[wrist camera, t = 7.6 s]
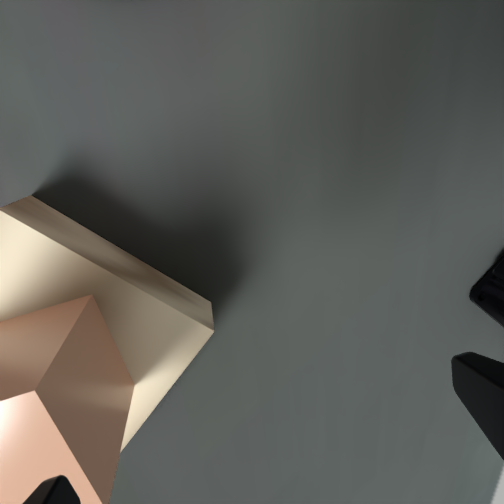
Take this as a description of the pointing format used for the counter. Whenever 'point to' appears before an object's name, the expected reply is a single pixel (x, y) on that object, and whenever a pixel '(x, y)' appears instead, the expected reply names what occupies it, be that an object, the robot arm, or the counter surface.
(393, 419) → the counter surface
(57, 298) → the base
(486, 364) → the robot arm
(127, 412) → the block
